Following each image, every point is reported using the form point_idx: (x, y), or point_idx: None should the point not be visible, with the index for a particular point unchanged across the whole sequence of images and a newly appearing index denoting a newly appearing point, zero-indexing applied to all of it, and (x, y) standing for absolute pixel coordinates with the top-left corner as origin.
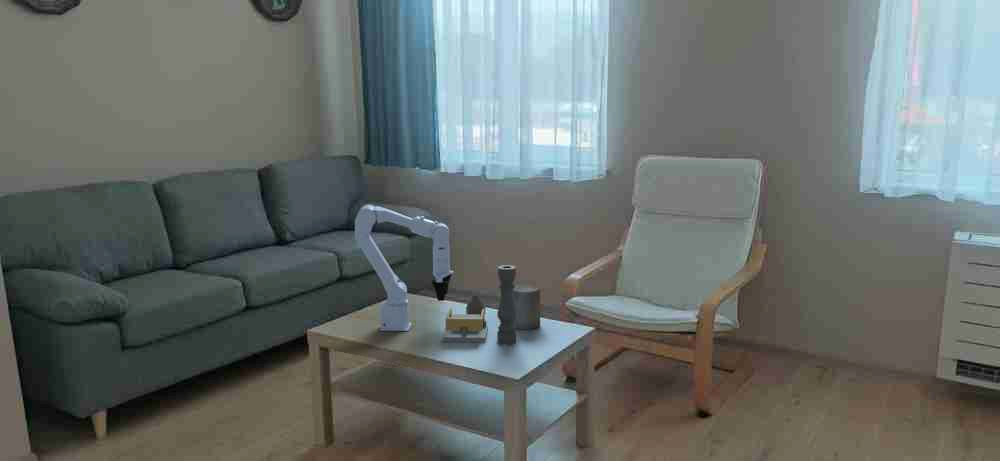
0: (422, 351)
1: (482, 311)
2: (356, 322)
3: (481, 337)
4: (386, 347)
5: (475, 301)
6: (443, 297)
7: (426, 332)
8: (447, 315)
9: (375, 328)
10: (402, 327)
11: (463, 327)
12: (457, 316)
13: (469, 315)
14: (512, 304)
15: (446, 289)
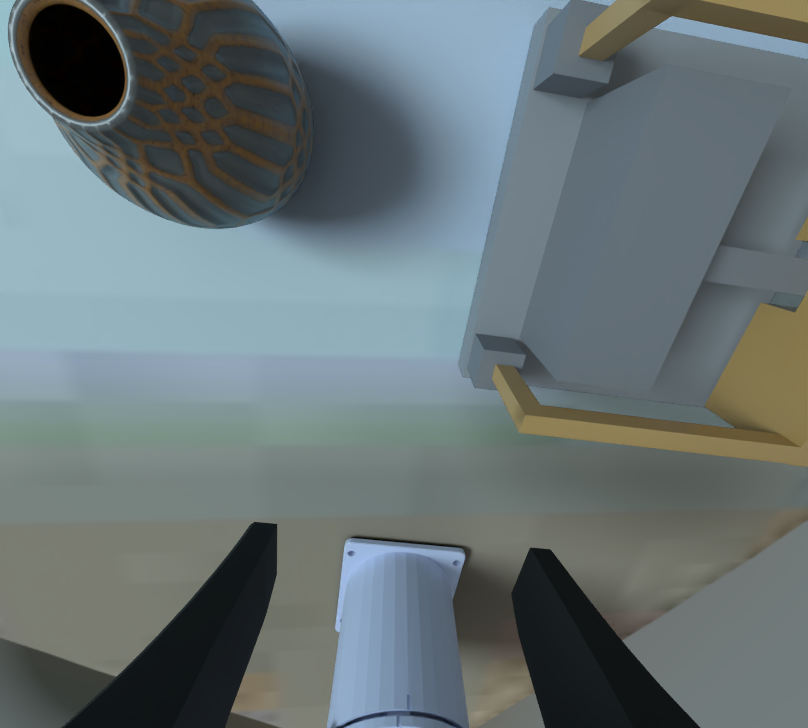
0: (792, 484)
1: (788, 3)
2: (312, 697)
3: None
4: (662, 604)
5: (205, 90)
6: (577, 594)
7: (498, 470)
8: (736, 453)
9: None
10: (447, 579)
11: None
12: (643, 345)
13: (654, 217)
14: None
15: (250, 590)
